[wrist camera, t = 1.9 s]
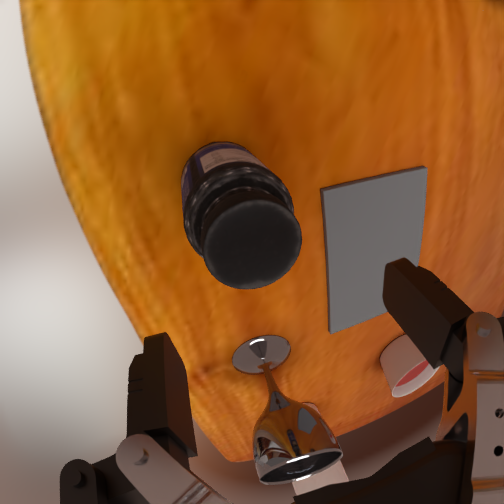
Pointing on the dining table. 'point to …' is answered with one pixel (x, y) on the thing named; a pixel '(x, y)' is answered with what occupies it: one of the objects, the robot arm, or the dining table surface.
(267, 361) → the wine glass
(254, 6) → the dining table surface
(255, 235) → the pill bottle
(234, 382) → the dining table surface
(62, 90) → the dining table surface
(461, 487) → the robot arm
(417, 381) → the candle
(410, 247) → the place mat
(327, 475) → the bottle
